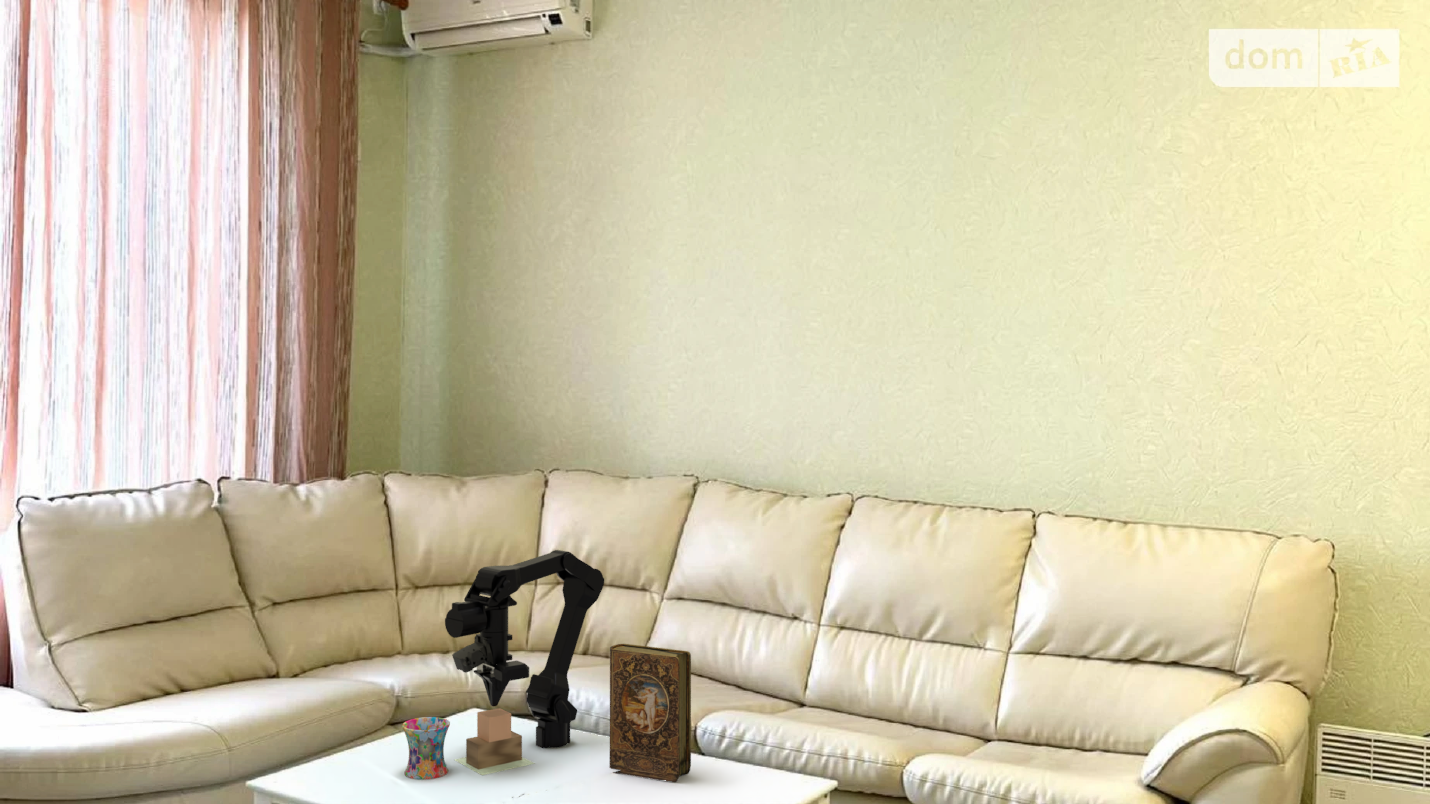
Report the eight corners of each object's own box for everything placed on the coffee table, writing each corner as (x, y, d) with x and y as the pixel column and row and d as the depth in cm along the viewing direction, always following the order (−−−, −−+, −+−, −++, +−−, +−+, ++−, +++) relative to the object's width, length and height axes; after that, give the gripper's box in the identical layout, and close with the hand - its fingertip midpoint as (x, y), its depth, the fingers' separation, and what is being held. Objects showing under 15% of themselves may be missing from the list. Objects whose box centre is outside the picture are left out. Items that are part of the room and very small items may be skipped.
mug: (437, 786, 256) (437, 732, 256) (393, 781, 258) (393, 728, 258) (464, 766, 268) (463, 715, 267) (422, 762, 270) (422, 711, 269)
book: (605, 771, 265) (605, 648, 264) (618, 763, 270) (619, 643, 269) (678, 783, 258) (679, 657, 257) (690, 775, 263) (691, 651, 262)
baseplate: (505, 752, 277) (505, 748, 277) (534, 767, 268) (534, 763, 268) (453, 763, 270) (453, 759, 270) (482, 779, 260) (482, 775, 260)
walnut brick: (509, 753, 274) (509, 729, 273) (521, 759, 270) (521, 735, 270) (466, 763, 268) (466, 738, 267) (478, 769, 264) (478, 744, 263)
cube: (477, 736, 269) (477, 712, 269) (499, 732, 272) (499, 708, 272) (489, 742, 265) (489, 717, 265) (511, 737, 268) (511, 713, 268)
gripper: (436, 626, 270) (436, 702, 270) (480, 643, 255) (480, 723, 256) (485, 620, 277) (485, 693, 277) (530, 636, 262) (530, 713, 263)
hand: (493, 705), depth 268 cm, fingers closed
